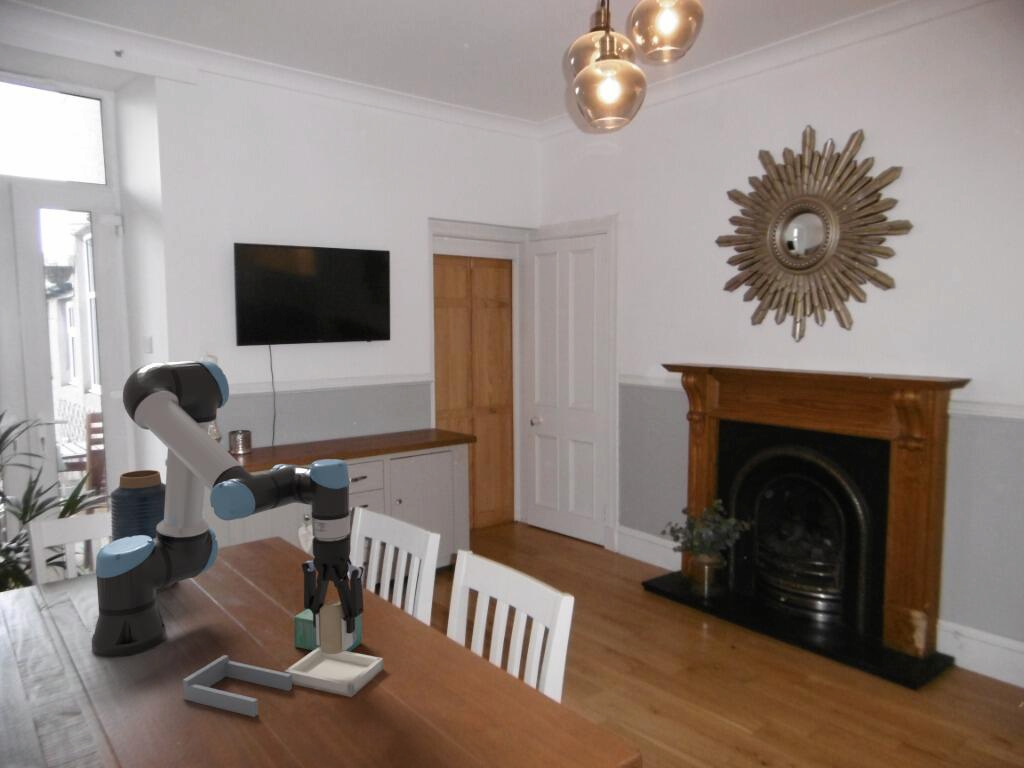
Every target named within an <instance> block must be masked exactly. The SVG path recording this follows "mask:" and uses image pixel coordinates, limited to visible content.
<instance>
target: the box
mask: <svg viewBox="0 0 1024 768" xmlns="http://www.w3.org/2000/svg"><path fill="white" fill-rule="evenodd" d="M362 620H363V619H362V614H360V615H358V616H357V617H355V631H354V632H352V638H353V645H351V646H350V647H349V648H347V649H346V650H345V651H348V652H352V651H353V650H355V648H357V647H358V646H359V645H361V643H362V637H363V621H362ZM319 646H321V645H317V640H316V627H314V625H313V613H312V611H311V610H310V609H304V610H303V611H302V612H300V613H299V614H296V615H295V616H294V647H295V648H299V649H303V650H310V651H313V650H315V649H316V648H318V647H319Z"/></svg>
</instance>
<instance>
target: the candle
mask: <svg viewBox="0 0 1024 768" xmlns="http://www.w3.org/2000/svg"><path fill="white" fill-rule="evenodd" d="M343 617H345V616H344V613H343V609H342V605H341V602H340V600H339V599H337V598H336V599H335V598H333V599H330V600H329V601H327V602H326V603H324V605H323V606H322V607H321V609H320V634H321V650H322V652H323V653H326V654H337V653H341V652H343V651H345V650H342V629H341V619H342V618H343Z"/></svg>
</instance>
